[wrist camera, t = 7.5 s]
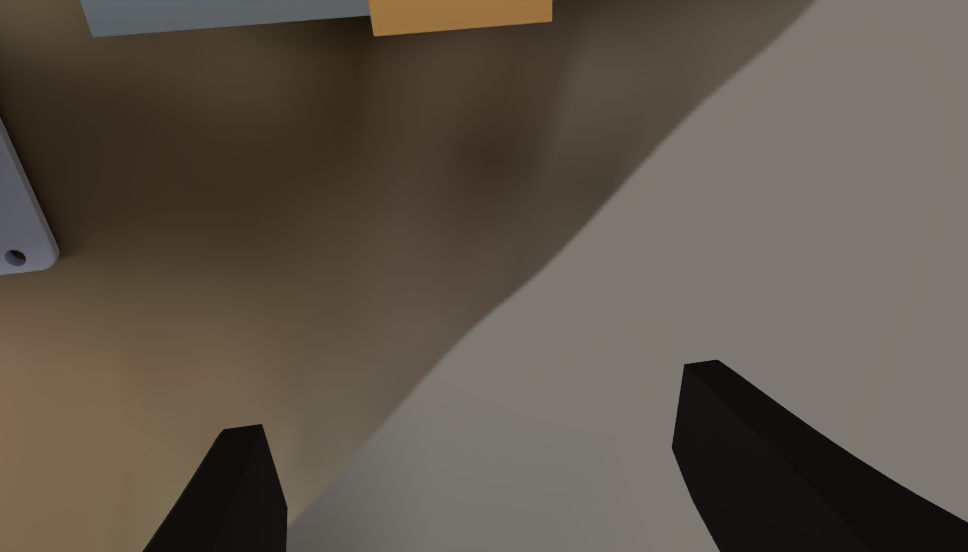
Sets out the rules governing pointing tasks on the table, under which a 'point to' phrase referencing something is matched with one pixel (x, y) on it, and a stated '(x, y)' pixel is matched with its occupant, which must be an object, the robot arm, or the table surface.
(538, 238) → the table surface
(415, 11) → the carton lid
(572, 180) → the table surface
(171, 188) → the table surface
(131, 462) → the table surface
